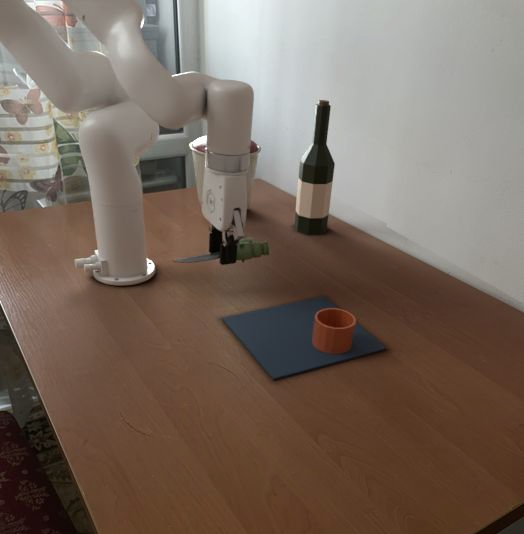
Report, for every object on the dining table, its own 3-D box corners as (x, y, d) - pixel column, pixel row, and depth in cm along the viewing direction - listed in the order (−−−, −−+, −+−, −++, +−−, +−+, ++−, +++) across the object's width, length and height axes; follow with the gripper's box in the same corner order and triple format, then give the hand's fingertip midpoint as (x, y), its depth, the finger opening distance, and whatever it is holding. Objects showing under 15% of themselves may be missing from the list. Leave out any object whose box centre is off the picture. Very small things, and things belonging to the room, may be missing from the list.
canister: (246, 196, 157) (249, 118, 146) (266, 219, 143) (271, 134, 132) (184, 200, 152) (182, 119, 140) (199, 223, 138) (198, 136, 126)
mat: (273, 380, 85) (273, 378, 85) (221, 319, 99) (221, 317, 99) (386, 349, 94) (386, 347, 94) (323, 298, 108) (323, 296, 108)
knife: (270, 242, 102) (265, 234, 106) (171, 256, 101) (171, 247, 105) (271, 261, 104) (267, 252, 108) (175, 275, 103) (174, 265, 107)
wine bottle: (324, 236, 135) (340, 105, 119) (291, 232, 136) (302, 102, 120) (328, 224, 142) (343, 99, 125) (296, 220, 143) (307, 96, 126)
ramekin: (325, 357, 90) (329, 332, 87) (304, 337, 95) (307, 312, 92) (359, 349, 93) (364, 323, 90) (337, 329, 98) (340, 305, 95)
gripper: (189, 147, 98) (187, 242, 109) (227, 177, 86) (222, 280, 97) (227, 146, 101) (222, 238, 112) (269, 174, 89) (259, 274, 100)
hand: (222, 256), depth 104 cm, fingers closed on knife, 4 cm apart
